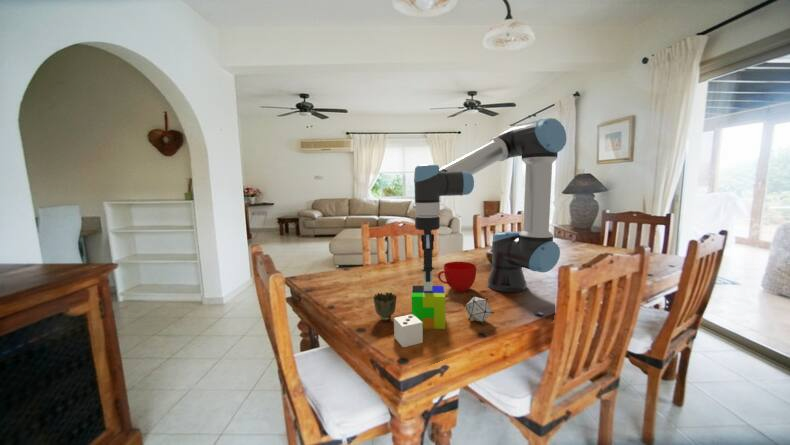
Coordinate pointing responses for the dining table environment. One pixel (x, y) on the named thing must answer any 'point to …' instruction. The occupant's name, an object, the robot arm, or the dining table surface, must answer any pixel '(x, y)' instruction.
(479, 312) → the game die
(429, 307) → the puzzle toy
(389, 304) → the cup
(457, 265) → the ceramic cup
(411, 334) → the pip block
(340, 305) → the dining table surface
